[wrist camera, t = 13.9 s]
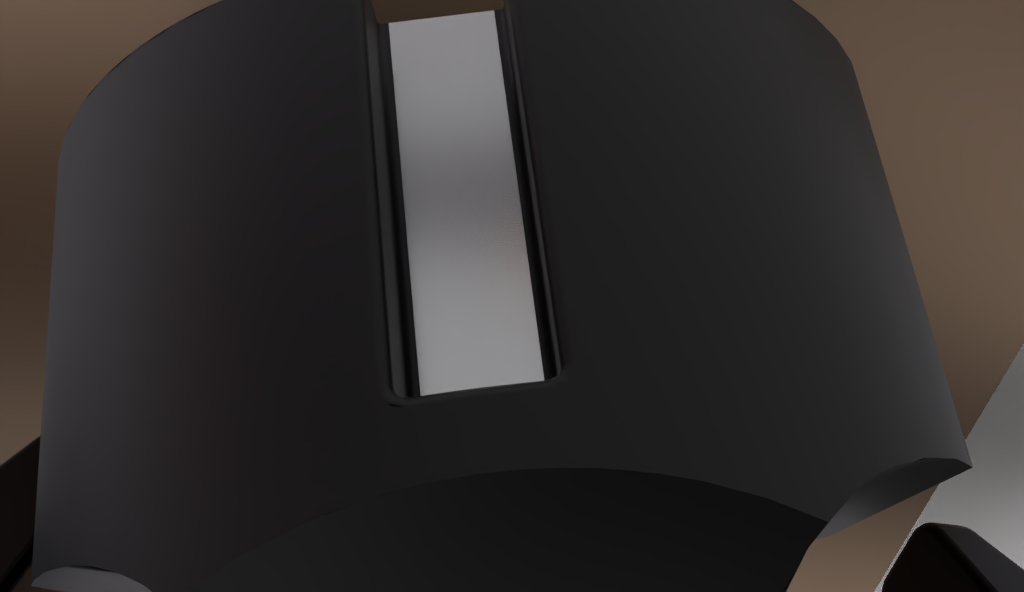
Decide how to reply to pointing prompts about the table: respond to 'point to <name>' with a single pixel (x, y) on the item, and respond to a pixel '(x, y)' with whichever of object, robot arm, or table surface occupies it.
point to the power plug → (478, 306)
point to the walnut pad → (835, 3)
